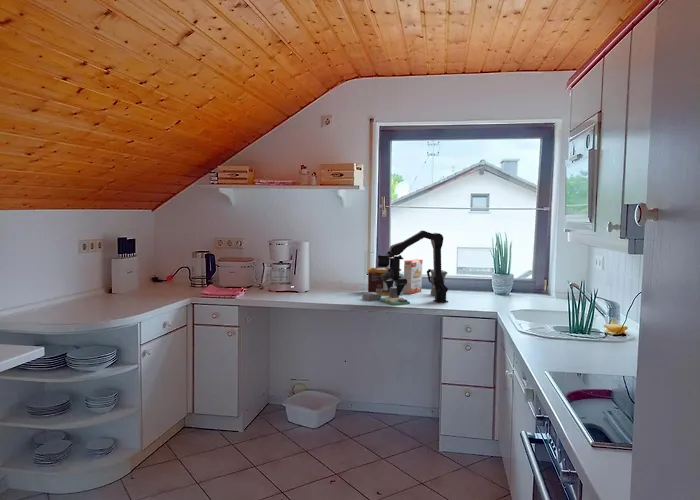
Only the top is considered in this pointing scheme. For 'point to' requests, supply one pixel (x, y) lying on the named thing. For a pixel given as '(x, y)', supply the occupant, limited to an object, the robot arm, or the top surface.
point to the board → (394, 300)
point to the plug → (393, 292)
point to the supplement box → (377, 281)
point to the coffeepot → (432, 275)
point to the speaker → (371, 296)
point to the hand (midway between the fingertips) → (394, 294)
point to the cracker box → (413, 276)
